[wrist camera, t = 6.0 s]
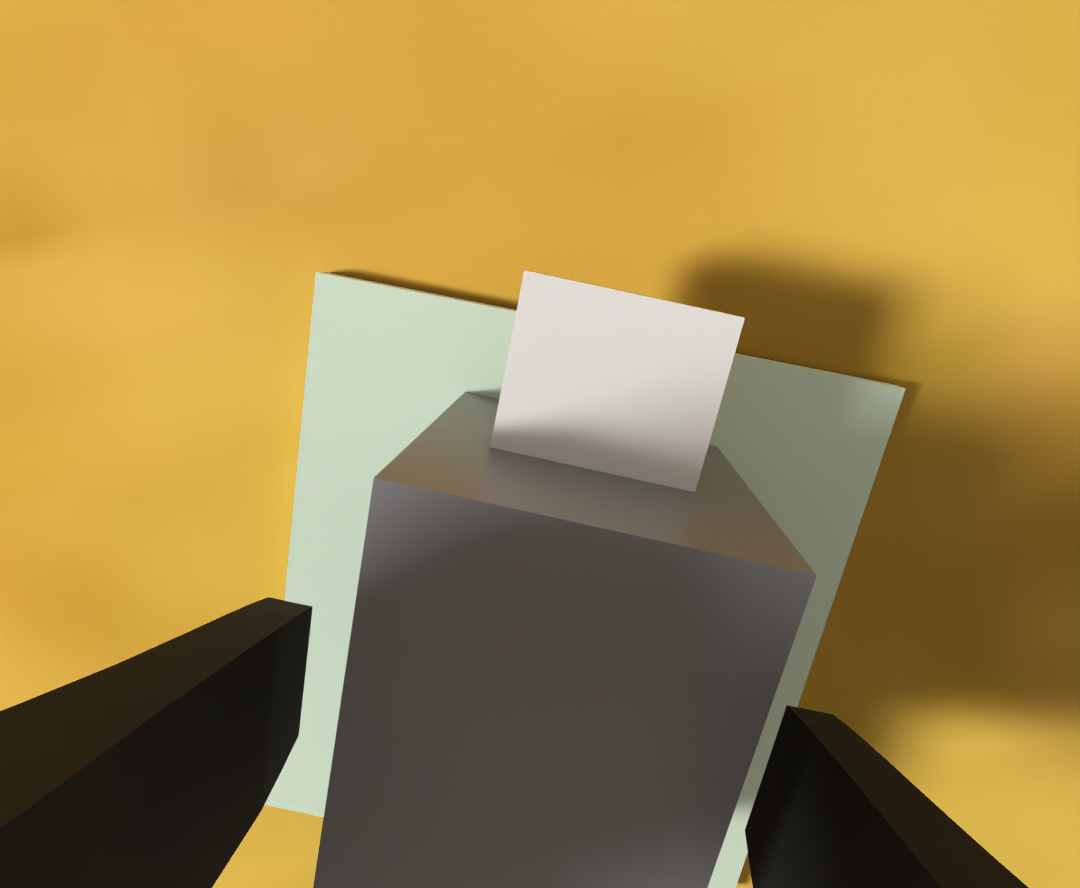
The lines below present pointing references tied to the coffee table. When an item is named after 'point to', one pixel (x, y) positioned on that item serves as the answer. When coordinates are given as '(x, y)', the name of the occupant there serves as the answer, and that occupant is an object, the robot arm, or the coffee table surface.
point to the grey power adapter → (563, 618)
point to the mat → (478, 367)
